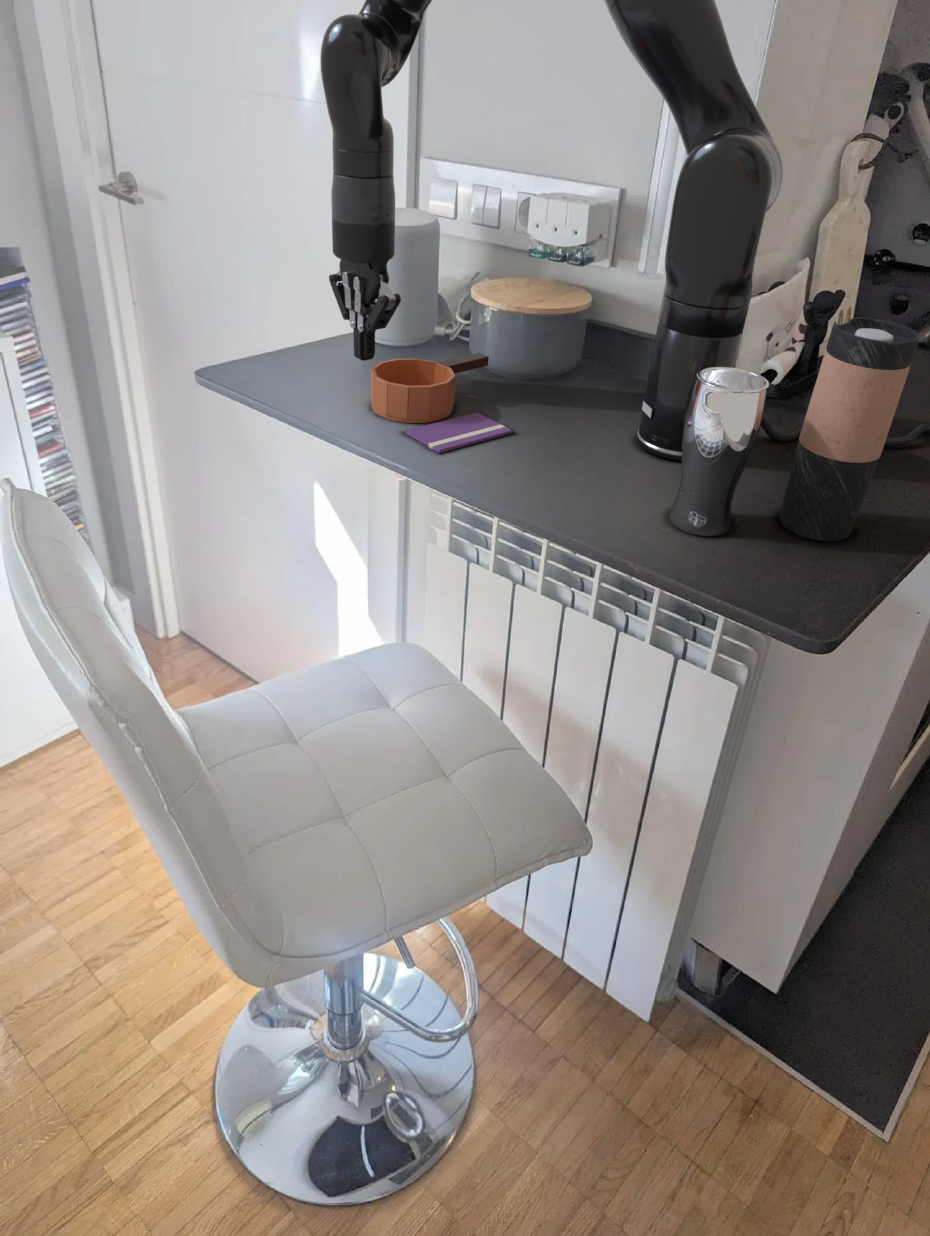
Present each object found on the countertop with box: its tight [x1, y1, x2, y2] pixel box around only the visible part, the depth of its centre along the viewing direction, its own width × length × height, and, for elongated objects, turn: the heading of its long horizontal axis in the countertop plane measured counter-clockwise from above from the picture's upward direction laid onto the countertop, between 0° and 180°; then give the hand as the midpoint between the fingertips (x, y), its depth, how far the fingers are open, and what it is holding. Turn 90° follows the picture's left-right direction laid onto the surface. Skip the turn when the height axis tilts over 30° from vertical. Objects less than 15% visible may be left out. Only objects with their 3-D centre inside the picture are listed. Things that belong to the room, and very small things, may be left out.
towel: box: [404, 412, 513, 454], centre depth 107 cm, size 11×6×1 cm, turn 129°
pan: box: [370, 352, 490, 424], centre depth 113 cm, size 17×10×5 cm, turn 132°
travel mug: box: [779, 317, 920, 542], centre depth 88 cm, size 8×8×20 cm
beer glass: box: [668, 367, 770, 537], centre depth 88 cm, size 7×7×15 cm
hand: (364, 357), depth 118 cm, fingers closed
